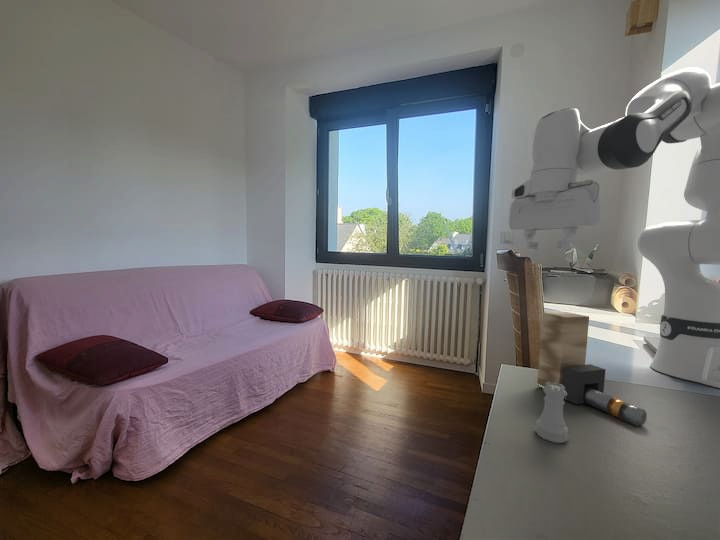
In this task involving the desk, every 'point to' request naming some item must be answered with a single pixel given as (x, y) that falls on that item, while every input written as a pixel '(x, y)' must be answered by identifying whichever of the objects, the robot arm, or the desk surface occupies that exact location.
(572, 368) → the black block
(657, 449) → the desk surface
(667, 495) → the desk surface
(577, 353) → the tall wooden block
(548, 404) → the rook chess piece
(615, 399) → the grey metal rod
